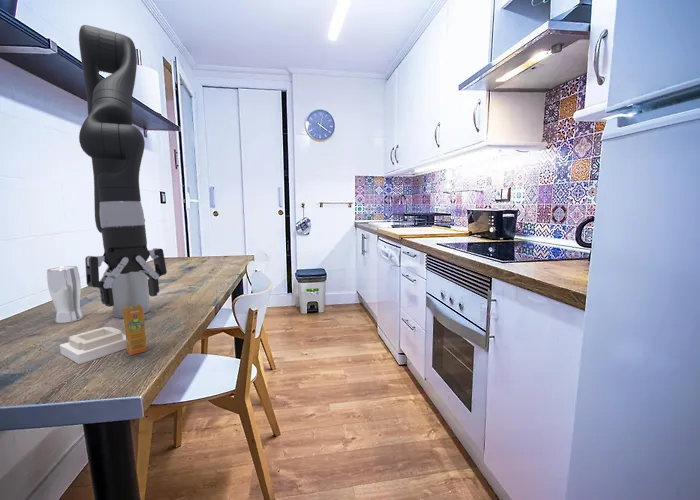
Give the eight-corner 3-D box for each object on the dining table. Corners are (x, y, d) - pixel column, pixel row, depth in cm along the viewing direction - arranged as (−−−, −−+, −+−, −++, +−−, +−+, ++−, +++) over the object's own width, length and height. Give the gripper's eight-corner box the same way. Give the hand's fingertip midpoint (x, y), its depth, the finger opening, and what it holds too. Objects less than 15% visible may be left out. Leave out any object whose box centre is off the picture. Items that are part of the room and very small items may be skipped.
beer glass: (91, 317, 96) (84, 266, 95) (64, 325, 90) (56, 271, 88) (75, 315, 99) (68, 265, 97) (47, 322, 92) (39, 270, 90)
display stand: (60, 353, 72) (58, 338, 71) (113, 337, 80) (111, 323, 79) (79, 364, 66) (77, 347, 66) (133, 346, 75) (131, 331, 74)
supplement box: (129, 356, 69) (124, 310, 68) (127, 351, 72) (121, 306, 70) (148, 351, 71) (143, 306, 70) (144, 346, 74) (139, 303, 73)
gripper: (149, 222, 76) (157, 291, 78) (73, 226, 64) (84, 307, 66) (167, 222, 72) (175, 294, 74) (90, 226, 60) (101, 312, 62)
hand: (132, 300), depth 70 cm, fingers open, 8 cm apart
